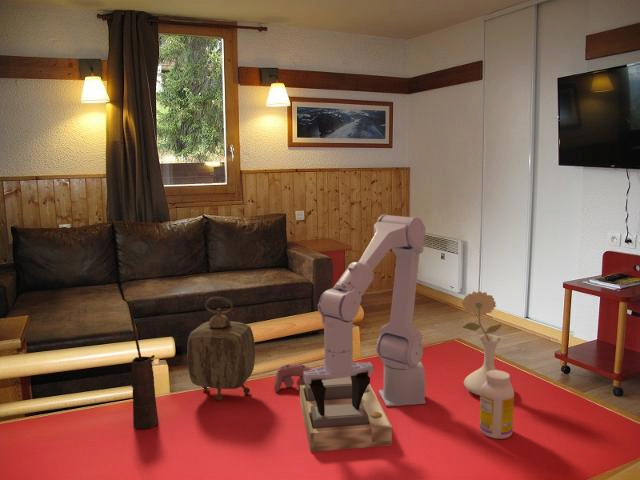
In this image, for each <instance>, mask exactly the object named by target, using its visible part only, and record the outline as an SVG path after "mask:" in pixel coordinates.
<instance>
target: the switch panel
mask: <svg viewBox="0 0 640 480" xmlns="http://www.w3.org/2000/svg"><path fill="white" fill-rule="evenodd" d="M299 402H300V408H301V409H300V410H301V412H302V417H303V418H302V419H303V422H304V426H305V427H304V428H305V430H306V436H307V441H308V447H309V451H310V453H314V452H325V451H327V452H328V451H339V450H350V449H352V450H353V449H362V448H363V449H364V448H374V447H375V448H376V447H386V446H387V447H388V446H393V425H392V424H391V422H390V421H389V419H388V417H387V415H386V412H385V411H384V409H383V407H382V405H381V403H380V401H379V399H378V398H377V395H376V393H375V391H374V389H373V387H372V386H371V384H370V383H369V385H368V386H367V388H366V390H365V392H364V394H363V397H362V400H361V402H362V404H363V406H364V408H365V410H366V413H367V415H368V425H356V426H342V427H329V428H315V429H313V428H312V424H311V406H316V405H317V404H316V401H307V398H306V394H305V385H300V387H299ZM344 403H352V398H349V399H334V400H324V405H330V404H344Z"/></svg>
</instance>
